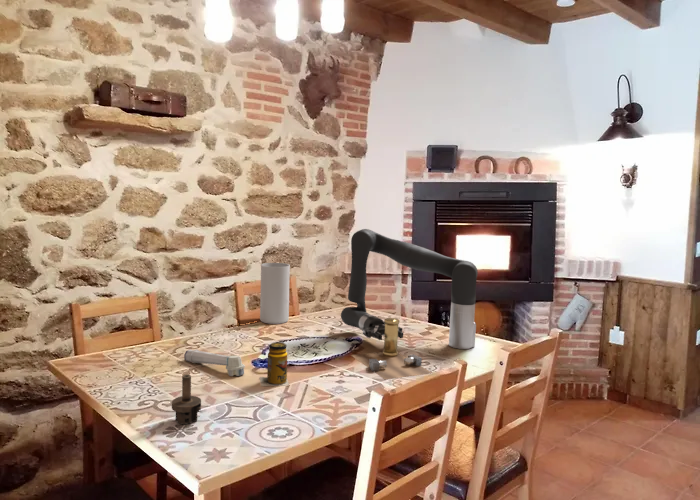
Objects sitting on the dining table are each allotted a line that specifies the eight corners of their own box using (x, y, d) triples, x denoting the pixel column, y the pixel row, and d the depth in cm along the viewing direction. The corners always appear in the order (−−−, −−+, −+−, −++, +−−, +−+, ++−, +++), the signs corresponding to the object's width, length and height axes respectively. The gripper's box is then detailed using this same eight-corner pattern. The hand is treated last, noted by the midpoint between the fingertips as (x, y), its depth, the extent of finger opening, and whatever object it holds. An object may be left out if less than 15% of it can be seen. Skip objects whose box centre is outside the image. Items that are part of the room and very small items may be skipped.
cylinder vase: (273, 315, 256) (274, 261, 253) (294, 320, 249) (295, 265, 246) (254, 320, 246) (254, 264, 243) (274, 325, 239) (276, 268, 236)
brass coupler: (393, 351, 207) (394, 317, 205) (400, 356, 202) (402, 321, 200) (380, 353, 205) (381, 318, 203) (387, 357, 200) (388, 322, 198)
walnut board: (394, 352, 209) (394, 350, 208) (432, 374, 185) (432, 373, 185) (350, 356, 201) (350, 355, 201) (384, 381, 178) (384, 379, 178)
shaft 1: (383, 366, 190) (384, 358, 190) (387, 370, 186) (387, 362, 185) (368, 367, 189) (369, 359, 188) (372, 371, 185) (372, 363, 184)
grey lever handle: (194, 347, 193) (247, 352, 179) (195, 366, 193) (248, 372, 179) (181, 351, 189) (235, 356, 175) (183, 370, 189) (237, 377, 175)
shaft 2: (412, 362, 196) (413, 354, 196) (421, 365, 192) (421, 357, 192) (401, 364, 193) (401, 356, 192) (410, 368, 189) (410, 360, 189)
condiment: (289, 385, 171) (290, 347, 170) (261, 386, 169) (261, 348, 168) (286, 377, 178) (287, 340, 177) (259, 378, 176) (260, 341, 175)
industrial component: (164, 421, 143) (164, 376, 141) (186, 412, 149) (186, 368, 147) (191, 431, 138) (191, 384, 137) (212, 421, 144) (212, 376, 143)
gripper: (355, 317, 213) (374, 327, 199) (388, 314, 219) (409, 324, 204) (354, 336, 214) (373, 348, 199) (387, 333, 220) (408, 344, 205)
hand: (391, 336), depth 202 cm, fingers open, 8 cm apart
